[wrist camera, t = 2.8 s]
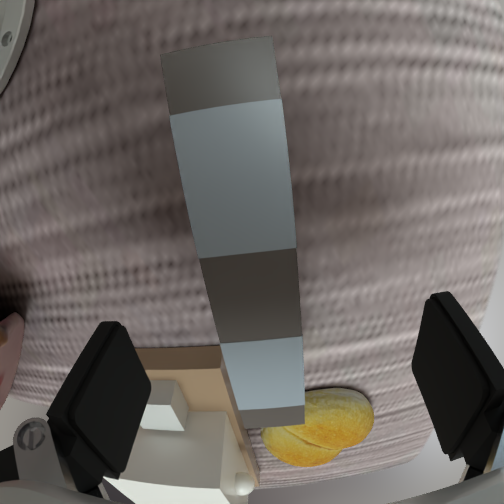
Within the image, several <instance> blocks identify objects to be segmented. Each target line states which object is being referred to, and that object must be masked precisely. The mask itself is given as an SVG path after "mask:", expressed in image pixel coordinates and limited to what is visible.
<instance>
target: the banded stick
mask: <svg viewBox="0 0 504 504" xmlns="http://www.w3.org/2000/svg"><path fill="white" fill-rule="evenodd" d="M160 56H161V63H162V69H163V76H164V82H165V89H166V95H167V101H168V107H169V113H170V116H169V118H170V124H171V129H172V135H173V140H174V145H175V151H176V156H177V161H178V166H179V171H180V176H181V181H182V186H183V191H184V196H185V201H186V205H187V210H188V215H189V219H190V224H191V229H192V233H193V237H194V242H195V246H196V251H197V255H198V259H199V260H200V264H201V269H202V273H203V277H204V281H205V285H206V289H207V293H208V297H209V301H210V305H211V309H212V313H213V317H214V321H215V325H216V329H217V333H218V336H219V340H220V346H221V350H222V354H223V357H224V361H225V365H226V368H227V372H228V375H229V379H230V382H231V386H232V389H233V393H234V396H235V399H236V403H237V406H238V409H239V411H240V414H241V418H242V421H243V424H244V428H245V429H250V428H268V427H281V426H292V425H301V424H305V388H304V360H303V338H302V330H301V311H300V295H299V280H298V266H297V252H296V248H297V243H296V231H295V219H294V208H293V197H292V186H291V176H290V166H289V157H288V148H287V139H286V130H285V121H284V113H283V105H282V99H281V96H280V88H279V81H278V73H277V66H276V59H275V52H274V45H273V39H272V36H265V37H256V38H247V39H240V40H233V41H226V42H220V43H214V44H208V45H203V46H198V47H193V48H188V49H183V50H179V51H174V52H170V53H166V54H162V55H160Z"/></svg>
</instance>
